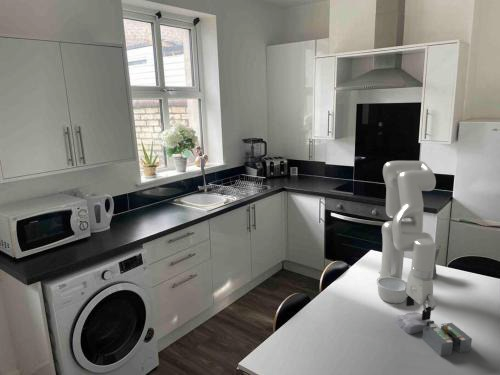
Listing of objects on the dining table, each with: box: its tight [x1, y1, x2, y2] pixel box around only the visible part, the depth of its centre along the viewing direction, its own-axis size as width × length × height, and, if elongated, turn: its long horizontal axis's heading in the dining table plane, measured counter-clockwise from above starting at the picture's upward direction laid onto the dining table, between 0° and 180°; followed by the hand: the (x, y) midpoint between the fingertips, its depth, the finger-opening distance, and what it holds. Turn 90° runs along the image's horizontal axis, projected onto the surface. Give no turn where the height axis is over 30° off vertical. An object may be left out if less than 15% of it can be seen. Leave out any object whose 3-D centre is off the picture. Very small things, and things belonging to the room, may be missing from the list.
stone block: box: [395, 311, 432, 335], centre depth 151 cm, size 12×5×10 cm
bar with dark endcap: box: [427, 320, 453, 340], centre depth 141 cm, size 11×2×6 cm, turn 12°
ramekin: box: [376, 277, 408, 304], centre depth 171 cm, size 13×13×7 cm
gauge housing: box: [421, 322, 473, 357], centre depth 138 cm, size 10×12×5 cm
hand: (417, 312), depth 147 cm, fingers open, 9 cm apart
